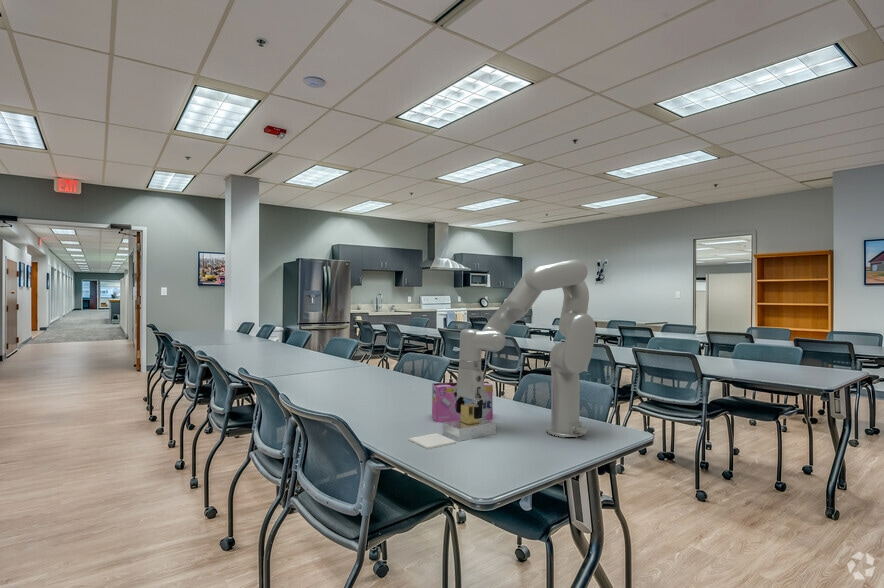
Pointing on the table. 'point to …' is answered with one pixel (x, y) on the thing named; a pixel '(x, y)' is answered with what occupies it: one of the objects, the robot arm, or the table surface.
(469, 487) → the table surface
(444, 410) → the gum box
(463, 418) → the yellow rectangular block
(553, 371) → the robot arm
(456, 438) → the grey speckled block
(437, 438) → the cream pad
